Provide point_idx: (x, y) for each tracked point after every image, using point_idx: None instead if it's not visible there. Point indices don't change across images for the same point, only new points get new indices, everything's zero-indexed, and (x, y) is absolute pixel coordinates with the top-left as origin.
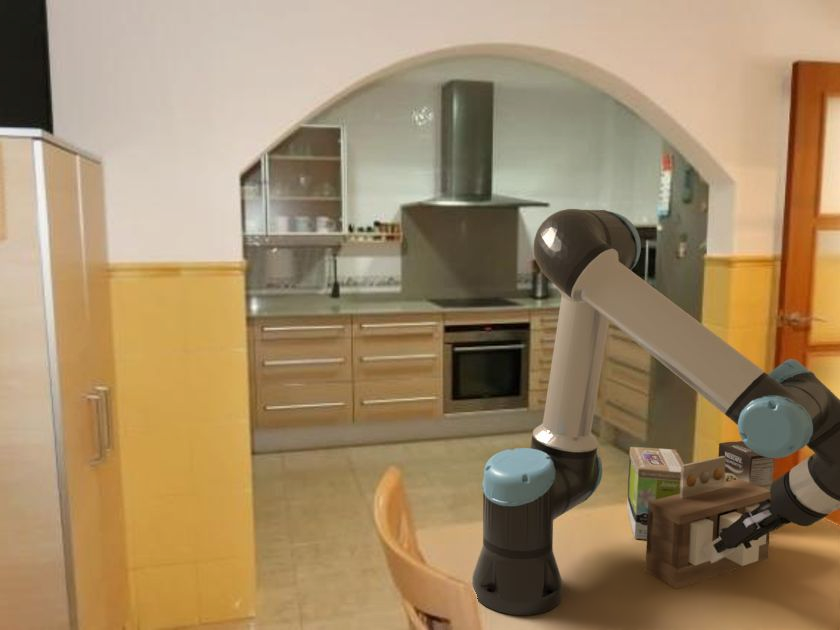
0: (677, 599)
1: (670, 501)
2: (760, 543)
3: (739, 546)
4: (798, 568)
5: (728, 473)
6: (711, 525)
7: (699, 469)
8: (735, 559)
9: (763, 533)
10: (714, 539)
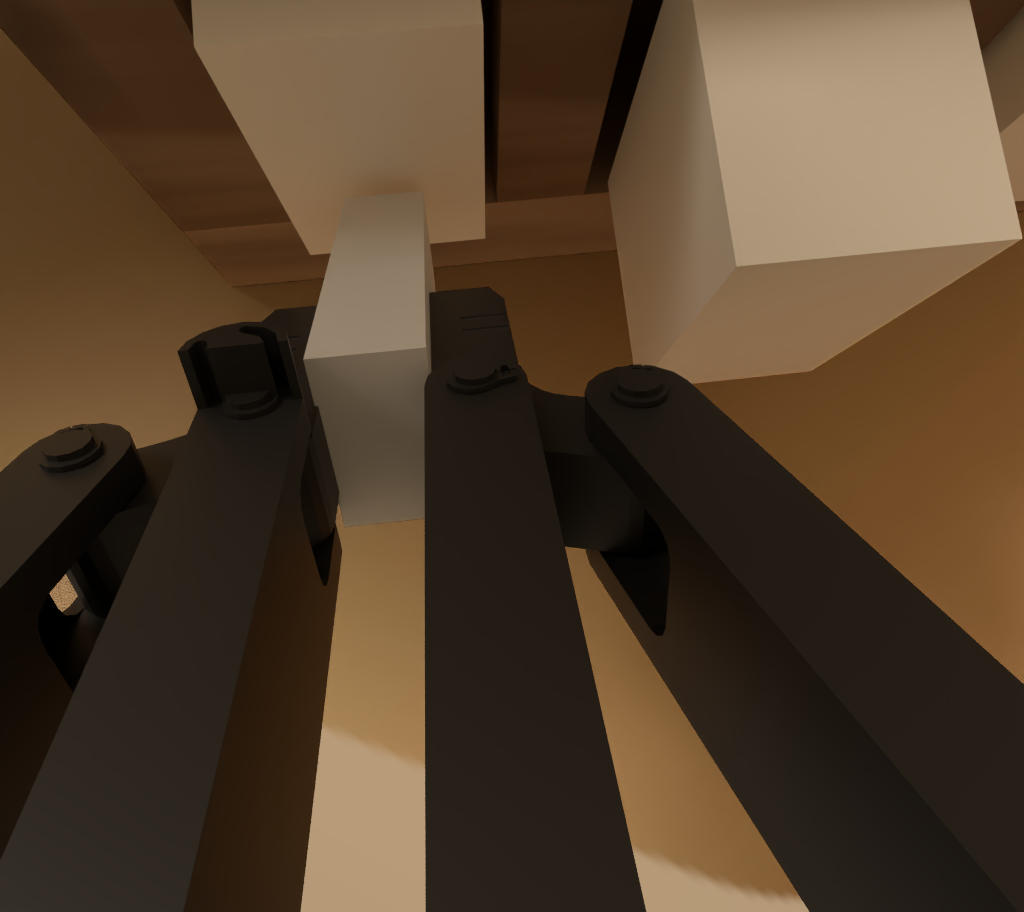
0: (146, 380)
1: None
2: (1021, 194)
3: (404, 515)
4: None
5: None
6: (454, 55)
7: None
8: (632, 320)
9: (657, 665)
10: (577, 113)
